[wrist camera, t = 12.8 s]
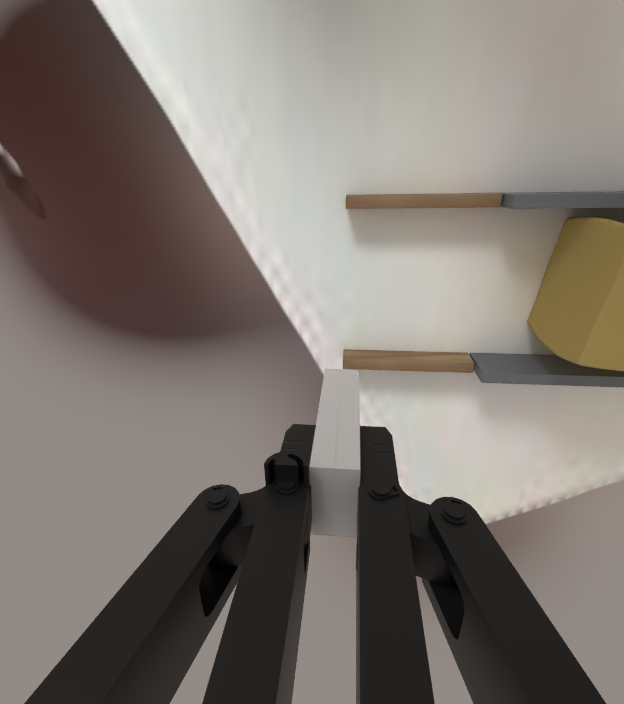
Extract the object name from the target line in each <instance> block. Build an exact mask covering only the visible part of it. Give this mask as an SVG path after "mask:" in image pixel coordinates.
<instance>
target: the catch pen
mask: <svg viewBox="0 0 624 704" xmlns="http://www.w3.org/2000/svg"><path fill="white" fill-rule="evenodd" d="M498 194H502V199H501V205H500V207H506V208H511V209H532V208H624V191H614V192H537V193H498ZM470 357H471V359H472V361H473V362H474V369H473V370H474V371H475V373H476V374H477V376H478V378H479V379H480V381H481V382H482V383H510V384H540V385H570V386H600V387H624V371H616V370H607V369H599V368H593V367H587V366H582V365H578V364H575V363H573V362H570V361H567V360H565V359H563V358H561V357H559V356H558V355H528V354H490V353H470Z"/></svg>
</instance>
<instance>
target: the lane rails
mask: <svg viewBox="0 0 624 704" xmlns="http://www.w3.org/2000/svg"><path fill="white" fill-rule="evenodd" d="M501 199H502V194H498V193H461V194H384V195H346V209H362V208H466V207H500V205H501ZM343 369H368V370H400V371H432V372H464V373H473V369H474V362H473V361H472V359H471V357H470V356H469V354H468V353H451V352H413V351H375V350H344V353H343Z"/></svg>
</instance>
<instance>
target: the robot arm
mask: <svg viewBox="0 0 624 704" xmlns="http://www.w3.org/2000/svg"><path fill="white" fill-rule="evenodd" d="M264 469H265V481H266V486H265V487H264V488H262V489H260V490H257V491H254V492H251V493H245V494H240V495H239V492H238V491H237V490H236V488H234V487H232V486H229V485H222V484H221V485H216V486H212V487H209V488H208V489H205V490H204V491H203V492H201V493H200V494H199V495H198V496H197V498H196V499H195V500H194V501H193V502H192V503H191V505H190V506H189V507H188V508H187V510H186V511H185V512H184V513H183V514H182V515H181V517H180V518H179V519H178V520H177V521H176V523H175V524H174V525H173V526H172V527H171V529H170V530H169V531H168V532H167V533H166V535H165V536H164V537H163V538H162V539H161V541H160V542H159V543H158V544H157V545H156V547H155V548H154V549H153V550H152V551H151V552H150V554H149V555H148V556H147V558H146V559H145V560H144V561H143V562H142V564H141V565H140V566H139V567H138V568H137V569H136V570H135V572H134V573H133V574H132V575H131V576H130V578H129V579H128V580H127V581H126V582H125V584H124V585H123V586H122V587H121V588H120V590H119V591H118V592H117V593H116V594H115V596H114V597H113V598H112V599H111V600H110V602H109V603H108V604H107V605H106V606H105V608H104V609H103V610H102V611H101V612H100V614H99V615H98V616H97V617H96V618H95V620H94V621H93V622H92V623H91V624H90V626H89V627H88V628H87V629H86V630H85V632H84V633H83V634H82V635H81V636H80V638H79V639H78V640H77V641H76V642H75V644H74V645H73V646H72V647H71V649H70V650H69V651H68V652H67V653H66V654H65V656H64V657H63V658H62V659H61V661H60V662H59V663H58V664H57V665H56V666H55V668H54V669H53V670H52V671H51V672H50V674H49V675H48V676H47V677H46V678H45V679H44V681H43V682H42V683H41V684H40V685H39V687H38V688H37V689H36V690H35V691H34V693H33V694H32V695H31V696H30V697H29V699H28V700H27V701H26V702H25V703H24V704H170V702H171V700H172V698H173V696H174V695H175V693H176V691H177V689H178V688H179V686H180V684H181V682H182V680H183V678H184V677H185V675H186V673H187V671H188V670H189V668H190V666H191V664H192V663H193V661H194V659H195V657H196V655H197V654H198V652H199V650H200V648H201V646H202V645H203V643H204V641H205V639H206V637H207V636H208V634H209V632H210V630H211V628H212V627H213V625H214V623H215V621H216V620H217V618H218V616H219V614H220V612H221V611H222V609H223V607H224V605H225V603H226V602H227V600H228V598H229V596H230V594H231V593H232V591H233V589H234V587H235V585H236V584H237V586H236V590H235V593H234V597H233V600H232V603H231V607H230V610H229V614H228V617H227V621H226V624H225V627H224V631H223V634H222V638H221V642H220V645H219V649H218V652H217V655H216V658H215V662H214V665H213V669H212V672H211V676H210V679H209V683H208V686H207V689H206V693H205V696H204V700H203V703H202V704H291V703H292V695H293V686H294V678H295V670H296V661H297V653H298V645H299V636H300V628H301V620H302V611H303V603H304V594H305V586H306V579H307V570H308V562H309V554H310V532H311V534H314V535H327V536H341V537H355V538H357V552H356V553H357V554H356V572H357V573H356V580H357V581H356V585H357V586H356V589H357V590H356V592H357V593H356V594H357V595H356V603H357V604H356V704H434V697H433V690H432V683H431V677H430V670H429V663H428V657H427V650H426V643H425V636H424V630H423V622H422V616H421V609H420V603H419V595H418V589H417V582H416V576H419V577H421V578H422V582H423V584H424V587H425V589H426V592H427V594H428V596H429V599H430V601H431V604H432V606H433V608H434V611H435V613H436V615H437V618H438V620H439V623H440V625H441V627H442V630H443V632H444V634H445V637H446V639H447V642H448V644H449V646H450V649H451V651H452V654H453V656H454V658H455V661H456V663H457V665H458V668H459V670H460V672H461V675H462V677H463V680H464V682H465V684H466V687H467V689H468V692H469V694H470V696H471V699H472V701H473V703H474V704H606V703H605V701H604V700H603V698H602V697H601V695H600V694H599V692H598V691H597V689H596V688H595V686H594V685H593V683H592V682H591V681H590V679H589V678H588V676H587V674H586V673H585V672H584V670H583V669H582V667H581V666H580V664H579V663H578V661H577V660H576V658H575V657H574V655H573V654H572V652H571V651H570V649H569V648H568V646H567V645H566V643H565V642H564V640H563V639H562V637H561V636H560V635H559V633H558V632H557V630H556V629H555V627H554V626H553V624H552V623H551V621H550V620H549V618H548V617H547V615H546V614H545V612H544V611H543V609H542V608H541V606H540V605H539V603H538V602H537V601H536V599H535V597H534V596H533V594H532V593H531V591H530V590H529V589H528V587H527V586H526V584H525V583H524V581H523V580H522V578H521V577H520V575H519V574H518V572H517V571H516V569H515V568H514V566H513V565H512V563H511V562H510V561H509V559H508V557H507V556H506V554H505V553H504V552H503V550H502V549H501V547H500V546H499V544H498V543H497V541H496V540H495V538H494V537H493V535H492V534H491V532H490V531H489V529H488V528H487V526H486V525H485V523H484V522H483V520H482V519H481V517H480V516H479V514H478V513H477V511H476V510H475V509H474V508H473V507H472V506H471V505H470V504H468V503H466V502H464V501H463V500H460V499H457V498H454V497H442V498H439V499H436V500H435V501H434V502H433V503H432V504H431V505H429V504H426V503H423V502H420V501H417V500H415V499H413V498H411V497H410V496H408V495H407V494H406V493H405V492H404V491H403V490H402V489H401V487H400V485H399V481H398V474H397V467H396V460H395V454H394V447H393V439H392V435H391V434H390V432H389V431H388V430H387V429H386V427H369V426H360V413H359V370H339V369H325V373H324V380H323V386H322V392H321V398H320V404H319V410H318V416H317V423H316V425H301V424H293V425H292V426H291V427H290V428H289V429H288V430H287V431H286V433H285V437H284V441H283V444H282V447H281V451H280V452H279V453H276V454H273V455H272V456H270V457H269V458H268V459H267V460H266V462H265V463H264ZM237 582H238V583H237Z"/></svg>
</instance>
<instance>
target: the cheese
mask: <svg viewBox="0 0 624 704" xmlns="http://www.w3.org/2000/svg"><path fill="white" fill-rule="evenodd" d="M528 324H529V326H530V327H531V329H532V330H533V332H534V334H535V335H536V336H537V338H538V339H539V340H540V341H541V342H542V343H543V344H544V345H545V346H546V347H548V348H549V349H550V350H551V351H552V352H554V353H555V354H556V355H558V356H559V357H561V358H563V359H565V360H567V361H570V362H573V363H575V364H578V365H582V366H587V367H593V368H599V369H607V370H616V371H624V223H621V222H618V221H614V220H610V219H605V218H595V217H577V218H568V219H567V220H566V222H565V224H564V226H563V229H562V232H561V234H560V237H559V239H558V242H557V244H556V247H555V249H554V252H553V254H552V257H551V260H550V262H549V265H548V267H547V270H546V273H545V276H544V279H543V281H542V284H541V287H540V290H539V293H538V296H537V299H536V301H535V304H534V307H533V309H532V312H531V314H530V317H529V319H528Z"/></svg>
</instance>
